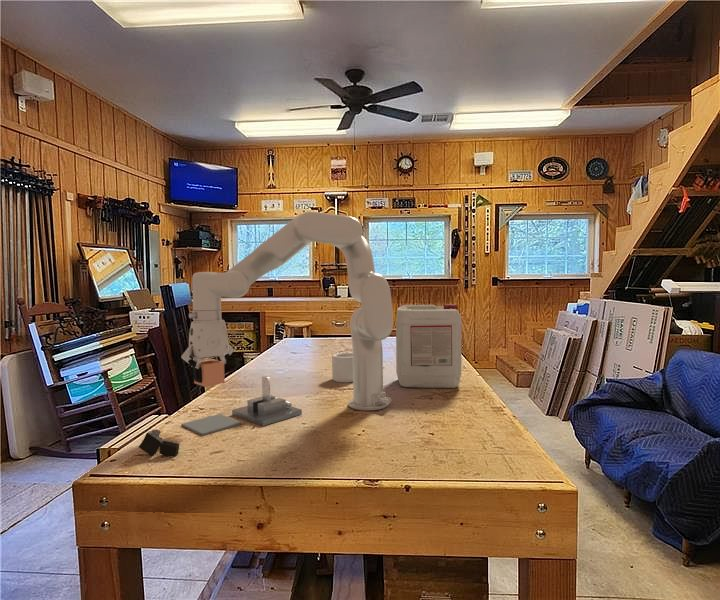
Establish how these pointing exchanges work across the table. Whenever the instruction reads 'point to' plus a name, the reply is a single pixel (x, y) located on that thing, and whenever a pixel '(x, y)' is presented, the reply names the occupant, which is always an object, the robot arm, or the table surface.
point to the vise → (266, 408)
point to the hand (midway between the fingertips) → (209, 379)
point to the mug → (342, 367)
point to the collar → (212, 372)
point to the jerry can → (428, 346)
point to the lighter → (158, 444)
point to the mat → (211, 424)
